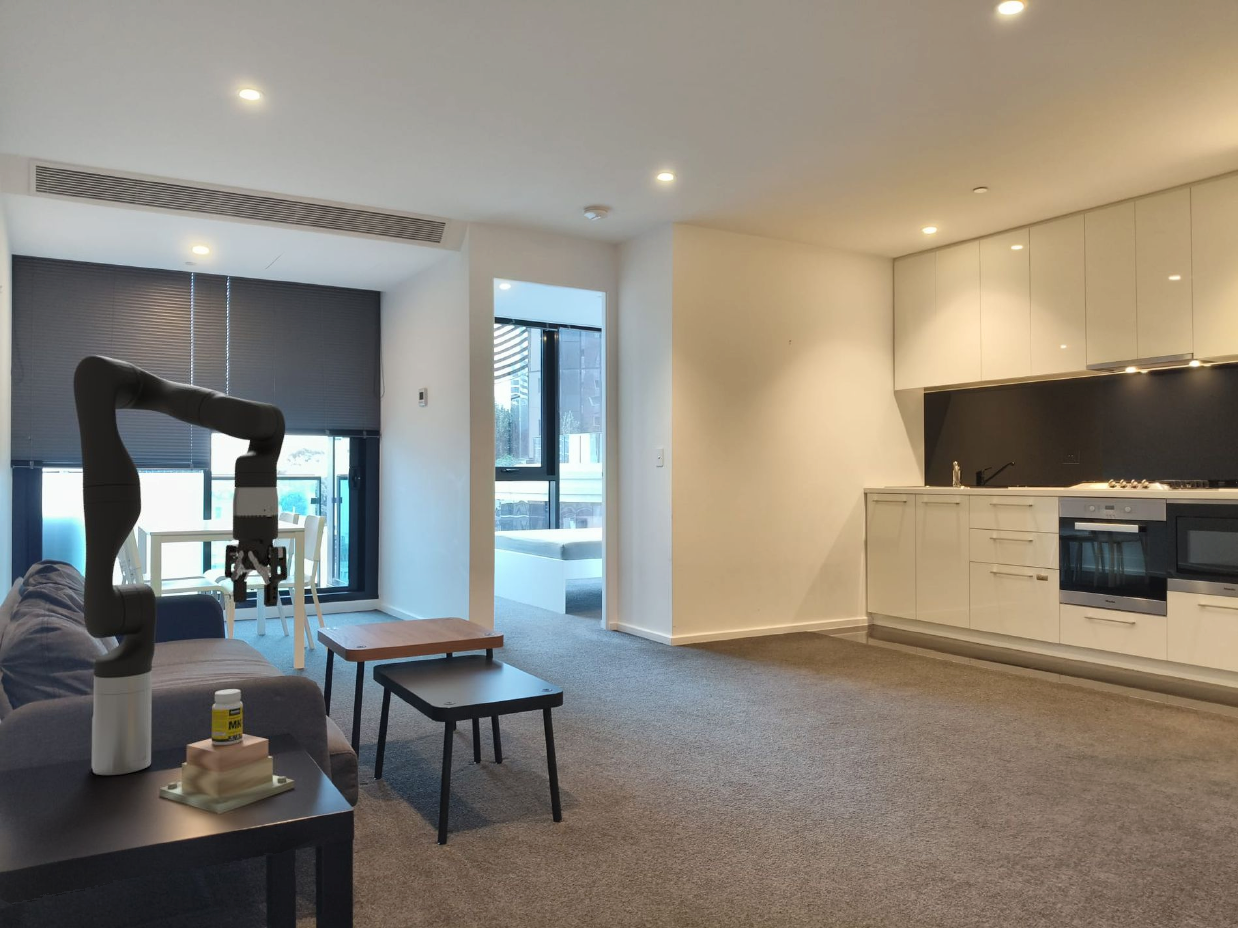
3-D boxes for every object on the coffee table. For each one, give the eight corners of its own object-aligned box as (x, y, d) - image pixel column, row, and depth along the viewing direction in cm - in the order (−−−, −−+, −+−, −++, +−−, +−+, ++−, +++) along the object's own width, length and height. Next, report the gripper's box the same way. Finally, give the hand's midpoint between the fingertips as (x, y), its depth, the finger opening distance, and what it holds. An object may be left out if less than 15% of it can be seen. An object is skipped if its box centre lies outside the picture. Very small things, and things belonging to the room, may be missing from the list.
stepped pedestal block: (159, 795, 145) (159, 745, 145) (235, 771, 157) (235, 725, 157) (218, 813, 137) (219, 760, 137) (294, 787, 149) (294, 738, 149)
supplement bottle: (230, 746, 144) (231, 695, 145) (205, 745, 145) (205, 694, 145) (248, 738, 149) (248, 688, 149) (223, 737, 150) (224, 687, 150)
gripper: (212, 513, 158) (211, 603, 157) (263, 513, 150) (262, 609, 150) (249, 512, 164) (248, 599, 163) (299, 512, 156) (299, 604, 156)
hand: (255, 603), depth 157 cm, fingers open, 8 cm apart
